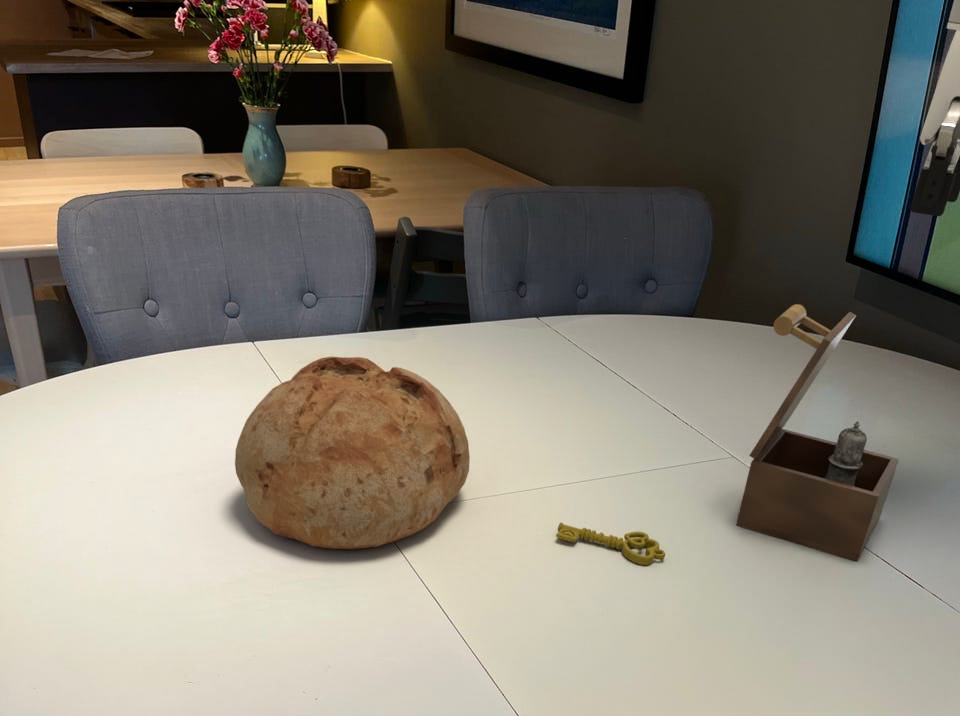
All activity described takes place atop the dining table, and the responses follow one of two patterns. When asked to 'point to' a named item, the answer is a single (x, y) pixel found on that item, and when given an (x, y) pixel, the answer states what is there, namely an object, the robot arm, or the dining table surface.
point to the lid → (824, 349)
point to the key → (617, 542)
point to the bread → (351, 455)
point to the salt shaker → (847, 456)
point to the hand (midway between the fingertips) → (933, 206)
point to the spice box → (814, 495)
